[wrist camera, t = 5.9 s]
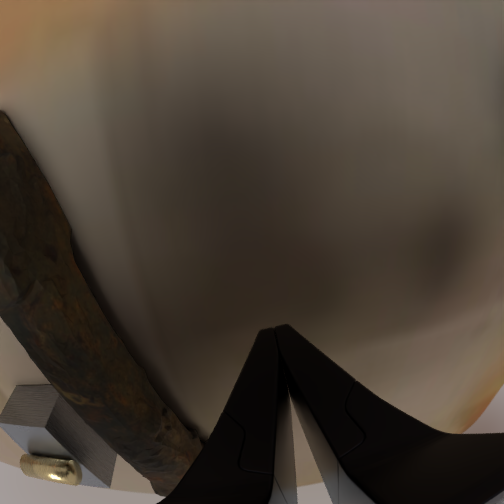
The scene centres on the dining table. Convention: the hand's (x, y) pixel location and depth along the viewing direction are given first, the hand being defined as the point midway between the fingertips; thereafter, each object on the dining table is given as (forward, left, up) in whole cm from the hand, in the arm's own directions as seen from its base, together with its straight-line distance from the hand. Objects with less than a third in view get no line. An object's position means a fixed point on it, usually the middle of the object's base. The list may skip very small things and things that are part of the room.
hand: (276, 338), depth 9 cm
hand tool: (+8, 0, -3) cm, 8 cm away
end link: (+13, +6, -3) cm, 14 cm away
